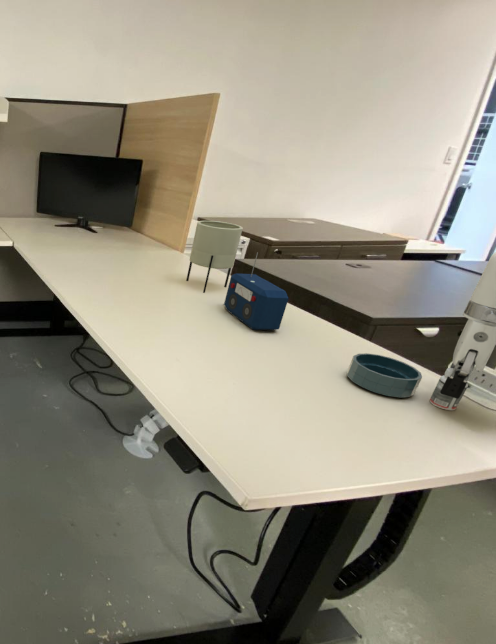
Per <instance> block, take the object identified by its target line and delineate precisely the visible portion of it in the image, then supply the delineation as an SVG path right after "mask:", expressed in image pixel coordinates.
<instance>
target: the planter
mask: <svg viewBox="0 0 496 644" xmlns="http://www.w3.org/2000/svg"><path fill="white" fill-rule="evenodd" d="M243 229H244V228H243V226H241V225H239V224H236V223H231V222H226V221H218V220H199V221H197V222H196V227H195V232H194V236H193V241H192V246H191V252H190V256H189V265H188V270H187V275H186V280H185V281H186V282H189V279H190V275H191V271H192V266H193V264H194V265H197V266H199V267H204V268H208V269H207V273H206V278H205V281H204V282H205V283H204V286H203V291H202V293H203V294H205V293H206V289H207V286H208V282H209V278H210V272H211V269H214V270H215V269H217V270H227V269H228V270H227V274H226V278H225V282H224V285H223V287H224V288H228V287H227V286H228V284H229V280H230V276H231V275H230V274H231V271H232V268H233V267H234V265H235V260H236V258H237V257H236V256H237V252H238V248H239V246H240V240H241V237H242V233H243Z"/></svg>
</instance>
